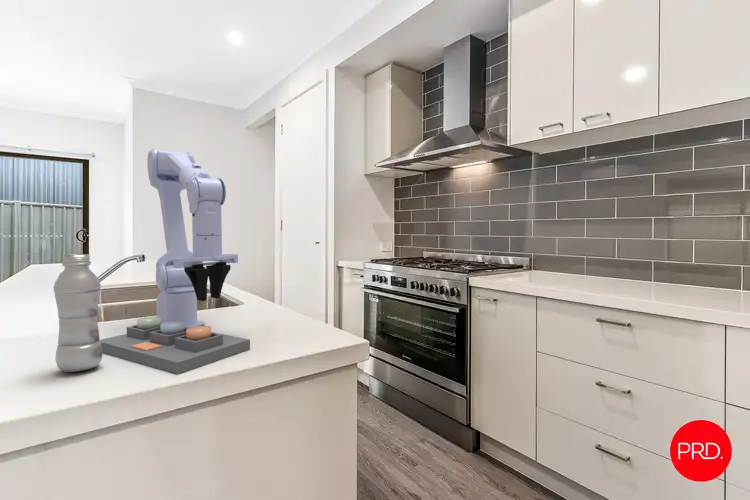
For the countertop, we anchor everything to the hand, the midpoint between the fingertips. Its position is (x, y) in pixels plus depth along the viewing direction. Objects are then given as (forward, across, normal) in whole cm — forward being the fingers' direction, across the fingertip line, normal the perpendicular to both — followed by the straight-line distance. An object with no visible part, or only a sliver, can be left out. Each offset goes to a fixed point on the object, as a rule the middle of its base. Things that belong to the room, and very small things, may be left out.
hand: (208, 299), depth 86 cm
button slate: (+6, -7, +2) cm, 9 cm away
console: (+9, -7, +2) cm, 12 cm away
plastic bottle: (+10, -22, +6) cm, 25 cm away
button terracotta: (+6, -7, -6) cm, 11 cm away
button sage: (+6, -7, +10) cm, 14 cm away
